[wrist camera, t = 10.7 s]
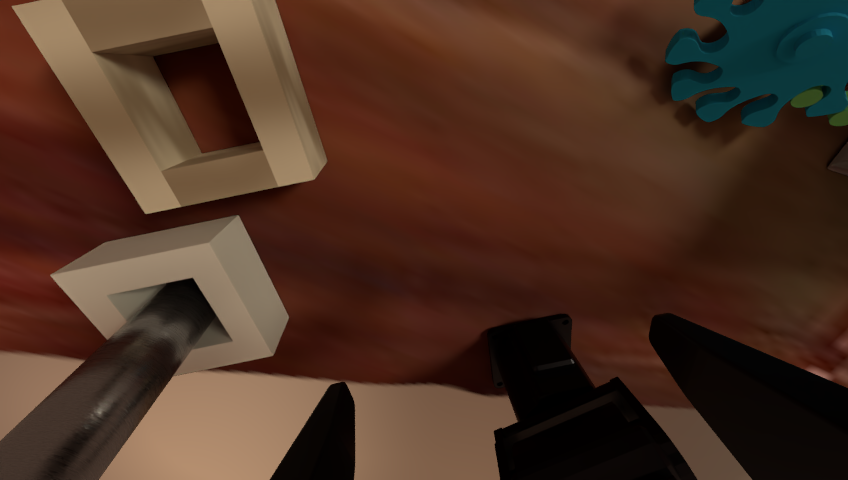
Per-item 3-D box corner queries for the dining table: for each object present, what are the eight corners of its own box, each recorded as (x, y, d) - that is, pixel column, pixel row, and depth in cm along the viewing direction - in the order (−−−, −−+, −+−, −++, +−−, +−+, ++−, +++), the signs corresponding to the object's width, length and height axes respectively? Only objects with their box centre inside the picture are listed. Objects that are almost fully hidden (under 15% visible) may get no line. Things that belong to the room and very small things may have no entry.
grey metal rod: (242, 297, 22) (87, 532, 11) (195, 307, 22) (-9, 551, 11) (219, 257, 20) (11, 481, 9) (169, 267, 20) (-101, 504, 9)
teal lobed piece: (629, 30, 15) (1131, -263, 7) (637, -40, 17) (1026, -321, 9) (705, 168, 20) (1040, 89, 12) (704, 101, 23) (987, -2, 15)
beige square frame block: (327, 161, 18) (314, 179, 15) (187, 190, 18) (145, 214, 15) (270, -16, 14) (236, -41, 11) (93, 20, 14) (11, 6, 11)
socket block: (289, 317, 23) (273, 355, 20) (178, 340, 23) (144, 382, 20) (238, 214, 19) (208, 242, 16) (105, 242, 19) (49, 275, 16)
